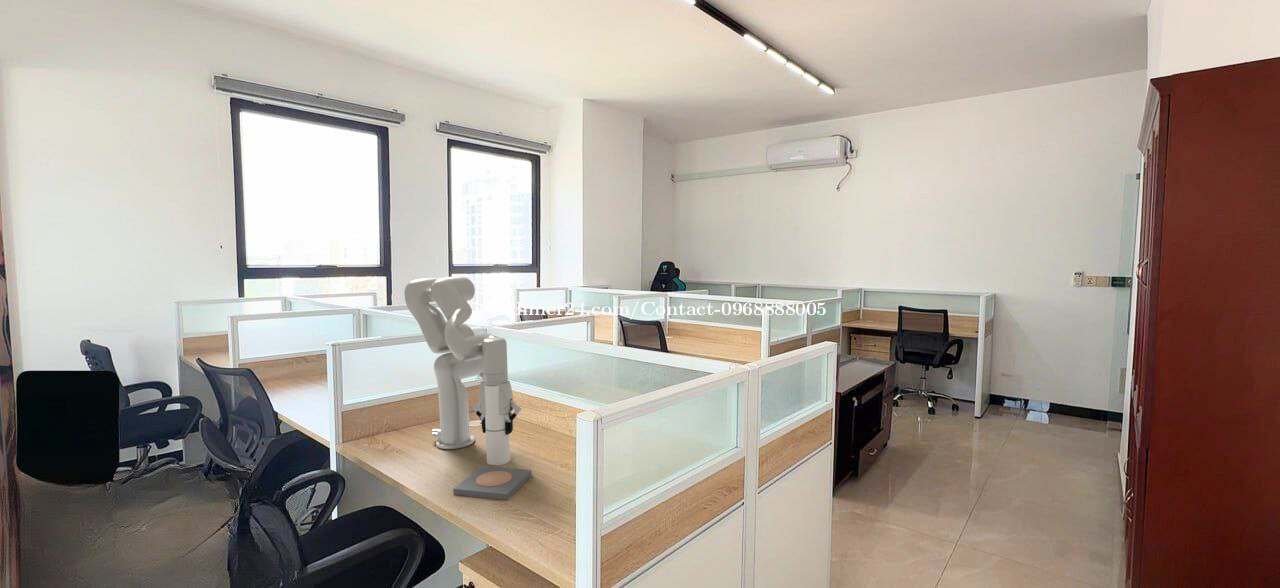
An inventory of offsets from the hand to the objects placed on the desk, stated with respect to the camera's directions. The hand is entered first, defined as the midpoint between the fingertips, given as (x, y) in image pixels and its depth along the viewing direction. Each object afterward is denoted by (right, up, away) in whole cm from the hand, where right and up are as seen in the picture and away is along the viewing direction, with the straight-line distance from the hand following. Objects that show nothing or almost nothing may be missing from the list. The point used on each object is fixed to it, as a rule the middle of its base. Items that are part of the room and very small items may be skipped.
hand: (497, 432), depth 174 cm
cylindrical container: (0, -10, +1) cm, 9 cm away
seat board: (+3, -11, -16) cm, 20 cm away
